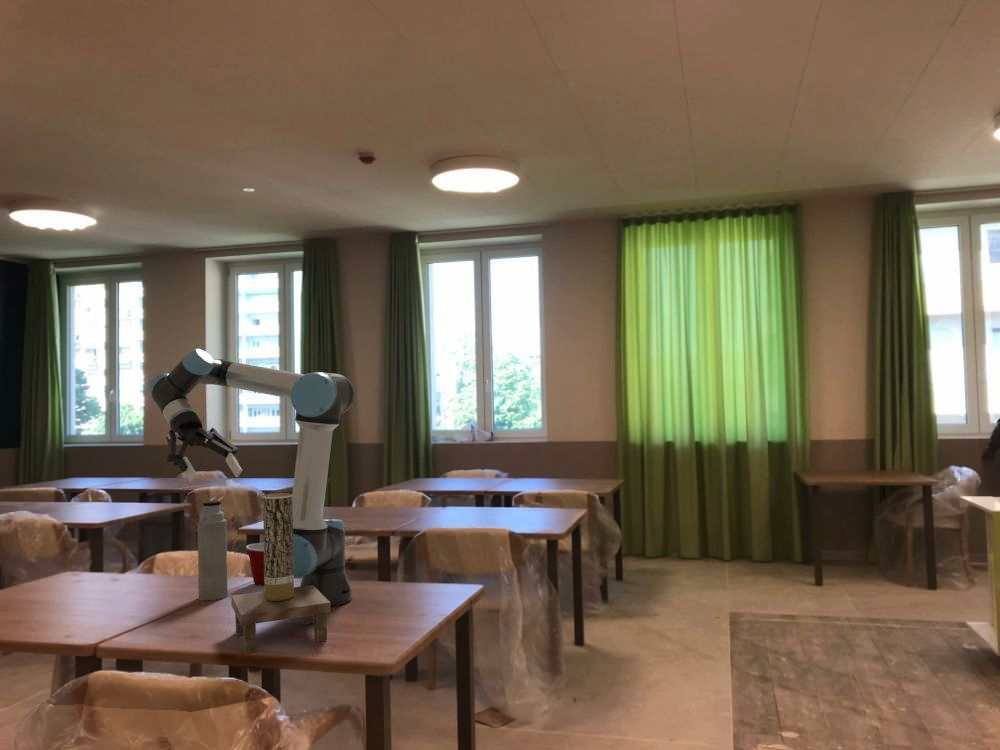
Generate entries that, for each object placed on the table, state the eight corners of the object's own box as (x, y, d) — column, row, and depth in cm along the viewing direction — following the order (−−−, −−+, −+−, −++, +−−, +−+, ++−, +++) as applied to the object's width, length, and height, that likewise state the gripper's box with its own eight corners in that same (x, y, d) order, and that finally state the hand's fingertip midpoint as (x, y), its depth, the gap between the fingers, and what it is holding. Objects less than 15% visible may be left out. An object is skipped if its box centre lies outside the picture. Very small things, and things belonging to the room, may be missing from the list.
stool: (313, 620, 195) (312, 584, 196) (331, 641, 177) (330, 602, 178) (231, 632, 187) (231, 595, 187) (241, 655, 169) (241, 614, 169)
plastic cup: (271, 587, 232) (271, 548, 232) (239, 587, 234) (239, 548, 234) (288, 579, 242) (287, 542, 243) (257, 579, 244) (257, 541, 245)
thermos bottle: (216, 592, 228) (214, 499, 229) (233, 595, 223) (231, 500, 224) (192, 598, 221) (191, 502, 222) (210, 602, 217) (208, 504, 218)
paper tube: (285, 593, 187) (283, 492, 188) (299, 598, 182) (297, 494, 183) (259, 599, 182) (258, 495, 183) (273, 604, 177) (271, 497, 178)
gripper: (216, 427, 219) (250, 481, 210) (133, 431, 198) (167, 491, 189) (227, 408, 216) (262, 462, 207) (144, 410, 195) (179, 470, 186)
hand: (217, 476), depth 198 cm, fingers open, 13 cm apart
